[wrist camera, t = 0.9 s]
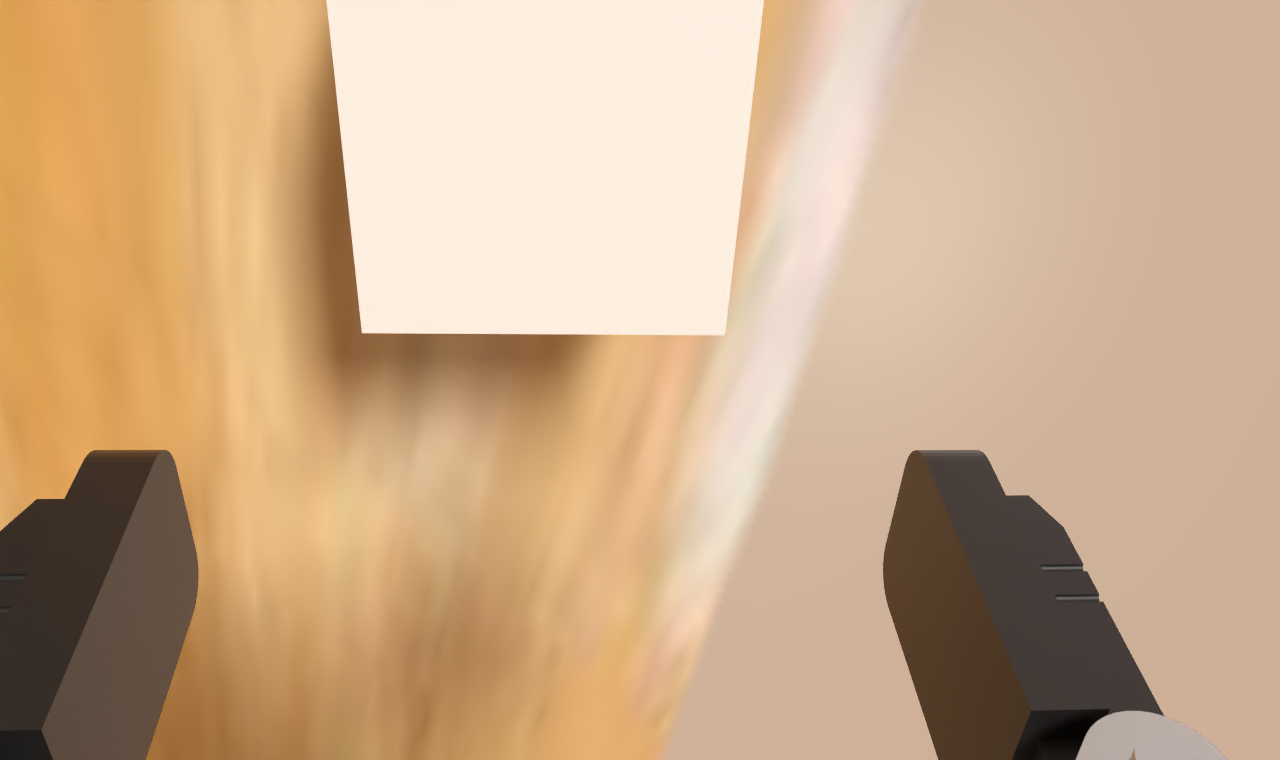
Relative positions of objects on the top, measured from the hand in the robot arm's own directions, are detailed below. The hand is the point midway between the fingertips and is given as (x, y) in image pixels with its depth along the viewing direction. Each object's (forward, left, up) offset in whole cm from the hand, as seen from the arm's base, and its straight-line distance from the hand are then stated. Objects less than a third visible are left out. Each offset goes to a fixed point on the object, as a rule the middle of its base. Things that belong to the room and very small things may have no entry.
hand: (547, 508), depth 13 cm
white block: (0, 0, -17) cm, 17 cm away
